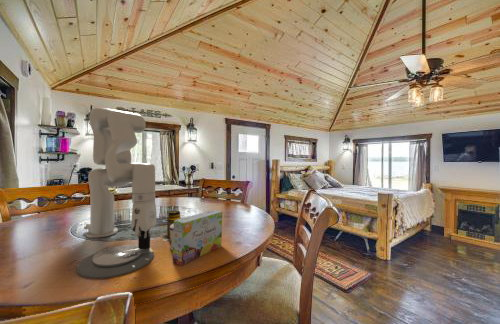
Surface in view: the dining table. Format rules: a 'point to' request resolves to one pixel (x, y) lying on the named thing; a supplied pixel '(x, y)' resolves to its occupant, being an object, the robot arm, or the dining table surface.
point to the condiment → (170, 220)
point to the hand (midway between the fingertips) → (144, 248)
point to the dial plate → (92, 271)
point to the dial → (118, 255)
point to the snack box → (196, 236)
